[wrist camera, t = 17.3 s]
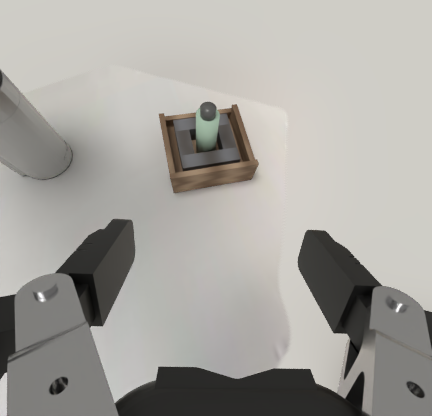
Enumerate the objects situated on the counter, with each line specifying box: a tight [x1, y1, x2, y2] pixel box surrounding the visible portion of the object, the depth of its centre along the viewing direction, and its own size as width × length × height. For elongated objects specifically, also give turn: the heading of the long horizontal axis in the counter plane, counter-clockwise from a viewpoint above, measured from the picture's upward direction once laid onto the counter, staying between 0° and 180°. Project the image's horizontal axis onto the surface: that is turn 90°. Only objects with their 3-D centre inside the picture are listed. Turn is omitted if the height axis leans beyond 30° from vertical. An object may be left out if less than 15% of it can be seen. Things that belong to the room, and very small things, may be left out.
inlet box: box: [159, 104, 259, 193], centre depth 45 cm, size 16×16×6 cm
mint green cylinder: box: [196, 102, 220, 153], centre depth 42 cm, size 4×4×12 cm
